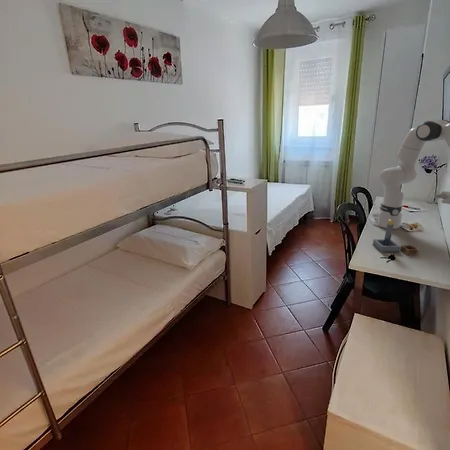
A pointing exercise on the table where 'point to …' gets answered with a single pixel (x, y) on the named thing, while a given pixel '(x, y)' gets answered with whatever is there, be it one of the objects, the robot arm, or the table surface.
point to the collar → (409, 250)
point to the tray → (386, 249)
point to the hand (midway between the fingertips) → (437, 198)
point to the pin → (388, 232)
